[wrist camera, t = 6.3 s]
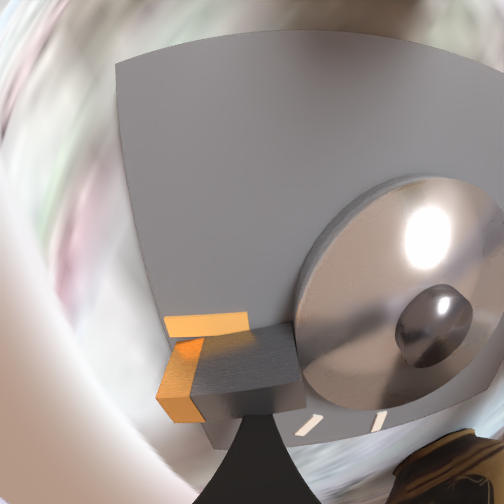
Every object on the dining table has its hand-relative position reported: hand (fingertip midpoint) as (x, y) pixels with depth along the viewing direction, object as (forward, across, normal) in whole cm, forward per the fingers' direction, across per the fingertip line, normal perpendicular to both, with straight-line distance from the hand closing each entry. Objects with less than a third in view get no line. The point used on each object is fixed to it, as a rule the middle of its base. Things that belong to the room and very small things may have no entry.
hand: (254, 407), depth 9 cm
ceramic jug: (+3, -21, +15) cm, 26 cm away
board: (+3, -6, -4) cm, 8 cm away
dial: (+2, -4, -3) cm, 5 cm away
